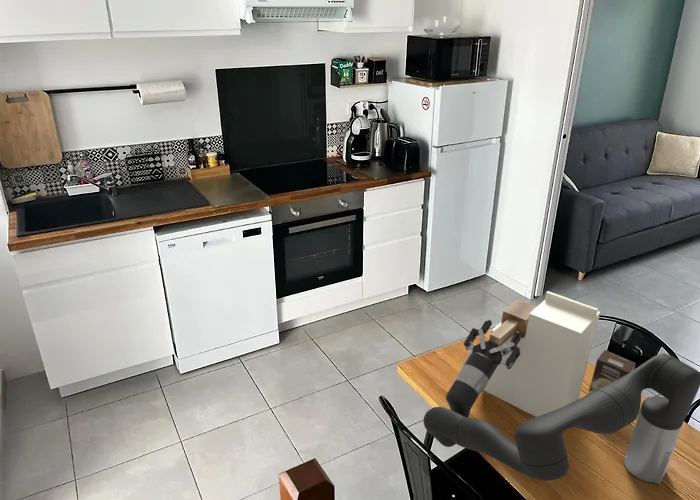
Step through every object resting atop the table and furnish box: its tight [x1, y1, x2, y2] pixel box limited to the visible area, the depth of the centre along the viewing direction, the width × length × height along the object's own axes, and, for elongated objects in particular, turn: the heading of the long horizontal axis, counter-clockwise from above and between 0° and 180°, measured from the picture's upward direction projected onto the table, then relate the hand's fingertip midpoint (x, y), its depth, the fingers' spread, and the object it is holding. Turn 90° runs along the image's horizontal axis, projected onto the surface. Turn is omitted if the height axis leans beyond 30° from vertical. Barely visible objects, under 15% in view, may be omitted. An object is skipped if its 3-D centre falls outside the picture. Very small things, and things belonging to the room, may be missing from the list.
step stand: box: [483, 290, 601, 418], centre depth 156 cm, size 24×14×34 cm, turn 48°
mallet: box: [488, 298, 537, 346], centre depth 153 cm, size 7×20×6 cm, turn 138°
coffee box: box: [587, 349, 637, 394], centre depth 157 cm, size 9×6×16 cm
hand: (504, 327), depth 149 cm, fingers open, 8 cm apart
